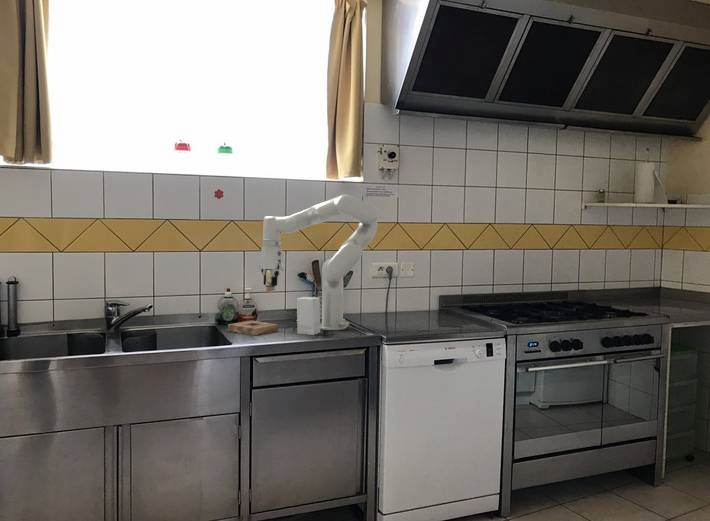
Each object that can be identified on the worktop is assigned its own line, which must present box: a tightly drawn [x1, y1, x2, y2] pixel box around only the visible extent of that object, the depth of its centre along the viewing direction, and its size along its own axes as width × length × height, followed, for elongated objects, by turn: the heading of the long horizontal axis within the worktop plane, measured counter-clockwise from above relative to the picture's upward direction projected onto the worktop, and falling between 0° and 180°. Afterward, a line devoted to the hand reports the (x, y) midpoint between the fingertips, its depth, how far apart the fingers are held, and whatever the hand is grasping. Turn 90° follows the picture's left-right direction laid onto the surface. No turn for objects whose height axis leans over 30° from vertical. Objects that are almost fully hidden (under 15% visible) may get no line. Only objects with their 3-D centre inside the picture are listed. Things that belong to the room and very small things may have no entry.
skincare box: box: [296, 296, 321, 336], centre depth 256 cm, size 8×7×16 cm
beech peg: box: [265, 270, 276, 294], centre depth 266 cm, size 4×4×10 cm
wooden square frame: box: [227, 320, 279, 336], centre depth 260 cm, size 16×14×3 cm
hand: (270, 284), depth 266 cm, fingers closed on beech peg, 4 cm apart
